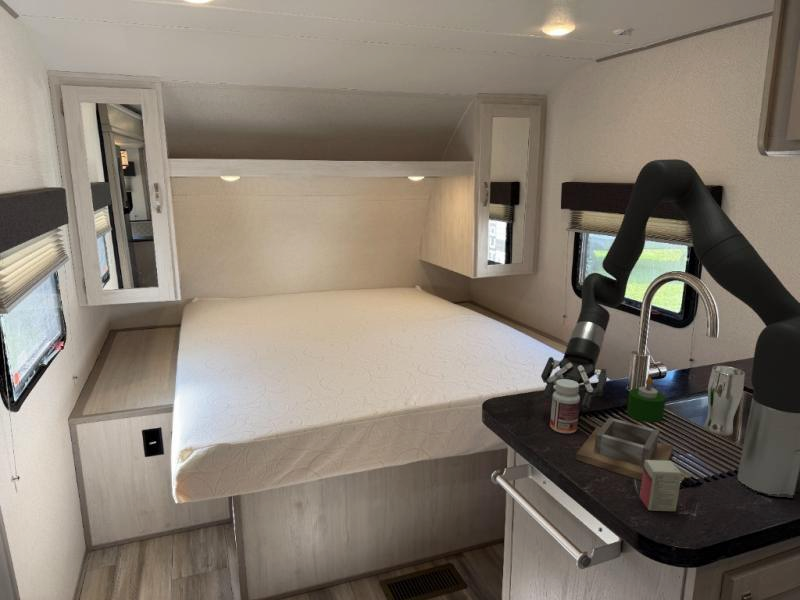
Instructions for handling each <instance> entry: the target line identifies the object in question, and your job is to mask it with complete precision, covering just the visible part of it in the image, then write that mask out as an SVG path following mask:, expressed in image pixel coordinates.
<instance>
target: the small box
mask: <svg viewBox="0 0 800 600" xmlns="http://www.w3.org/2000/svg"><path fill="white" fill-rule="evenodd" d="M682 475H683V473H682V471H681V470H680V469H679V468H678V466H677V465H676V464H675V463H674V462H673V461H672V460H669V461H665V460H645V462H644V469H643V477H642V480H641V484H640V485H641V486H640V490H639V491H640V493H639V499H640V501H642V504H643V505H644V506H645V508H646V509H647V510H648V511H655V512H656V511H658V512H676V510H677V505H678V500H679V499H678V498H679V493H680V487H681V486H680V485H681V481H682Z"/></svg>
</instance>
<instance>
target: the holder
mask: <svg viewBox="0 0 800 600" xmlns="http://www.w3.org/2000/svg"><path fill="white" fill-rule="evenodd" d="M659 435H660V430H659V429H654V428H651V427H647V426H643V425H641V424H640V425H639V424H636V423H633V422H632V423H631V422H628V421H624V420H620V419H617V418H614V417H613V418H612V417H608V418H607V419H606V421H605V422H604V424H603V425H602V426H600V425H599V426H597V427H596V428H595V429H594V430H593V432H592V433H591V434H590V436H589V437H588V438H587V439H586V441H585V442H584V443H583V444H582V445H581V447H580V448H579V450H577V452H576V454H575V455H576V456H575V461H577V460H578V461H577V462H581V461H582V462H581V463H585V464H587V465H590V464H591V466H593V465H594V467H597V468H600V469H604V470H607V471H610V472H613V473H616V474H619V475H622V476H623V475H624V476H626V477H630V478H632V479H636V480H640V481H642V477H643V469H644V462H645V460H665V461H670V459H671V457H672V454H673V451H674V446H672V445H669V444H666V443H661V442H659Z"/></svg>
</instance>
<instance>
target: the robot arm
mask: <svg viewBox="0 0 800 600" xmlns="http://www.w3.org/2000/svg"><path fill="white" fill-rule="evenodd" d="M661 203H663V204H664V203H671V204H673V206H675V208H677V209H678V211H679V212H680V213H681V215H682V216H683V217H684V218H685V220H686V221H687V223H688V225H689V228H690V233H691V241H692V246H693V252H694V254H695V257H696V258H697V259H698V261H699V263H701V265H702V266H703V268H704V270H706V272H707V273H708V274H709V276H710V277H711V278H712V279H713V280H714V282H716V284H717V285H719V286H720V287H722V288H723V289H724V290H725V291H726V292H728V293H730V294H731V295H732V296H733V297H735V298H737V299H738V300H740V301H741V302H742V303H743V304H745V305H747V306H748V307H749V308H750V309H752V311H753V312H754V313H755V314H756V315H757V316H758V317H759V319H760V320H761V321H762V323H763V324H764V325H765V327H764V328H763V329H762V330H761V332H760V333H759V334H758V337H757V340H756V344H755V349H754V353H753V354H754V355H753V360H752V369H751V376H750V378H751V385H752V389H753V390H752V391H753V392H752V399H751V404H750V409H749V415H748V419H747V425H746V429H745V434H744V436H745V437H744V440H743V445H742V452H741V456H740V462H739V465H738V472H737V481H738V482H739V481H740V482H741V483H742V484H745V485H746V486H748V487H750V488H752V489H754V490H757V491H761V492H764V493H768V494H777V495H779V494H789V495H794V496H795V492H796V487H797V482H798V478H799V473H800V302H799V301H798V299H796V297H794V296H793V295H792V294H791V292H790V291H789V290H788V289H787V288H786V286H785V285H784V284H783V283H782V282H781V280H780V279H779V278H778V277H777V275H776V274H775V273H774V271H773V270H772V269H771V267H769V265H768V264H767V262H765V260H764V259H763V258H762V257H761V255H760V254H759V252H757V250H756V249H755V248H754V246H753V245H752V244H751V242H750V241H749V240H748V239H747V238H746V236H745V235H744V234H743V233H742V232H741V231H740V230H739V228H738V227H737V226H736V225H735V224H734V222H733V221H732V219H730V217H729V216H728V215H727V213H726V212H725V211H724V210H723V209H722V208H721V206H720V205H719V204H718V203H717V201H716V200H715V198H714V197H713V196H712V194H711V192H710V190H709V189H708V188H707V186H706V184H705V183H704V181H703V180H702V178H701V176H700V175H699V173H698V172H697V171H696V169H695V167H693V166H692V164H691V163H689V162H688V161H686V160H683V159H679V158H677V159H675V158H674V159H672V158H671V159H654V160H652V161H649V162H647V163H646V164H645V165H644V166H643V167H642V168H641V169H640V171H639V172H638V176H636V180H635V182H634V185H633V188H632V192H631V195H630V198H629V200H628V204H627V206H626V209H625V211H624V215H623V218H622V222H621V224H620V227H619V229H618V232H617V234H616V236H615V237H614V240H613V241H612V243H611V246H610V247H609V249H608V250H607V253H606V254H605V257H604V258H603V260H602V265H601V266H602V268H603V270H604V271H605V273H607V274H608V275H609V276H611V277H609V276H606V275H604V274H602V273H598V272H591V273H589V274H587V275H586V277H585V278H584V280H583V283H582V286H581V306H580V312H579V316H578V318H577V321H576V324H575V326H574V328H573V330H572V332H571V335H570V336H569V337H570V338H569V340H568V344H567V346H566V349H565V350H564V351H565V352H564V354H563V358H562V359H561V360H556V359H554V357H553V356H551V357H548V359H547V361H546V364H545V365H544V369H543V370H542V373H541V375H540V377H541V380H542V382H543V383H545V384H546V385H545V388H544V389H543V390H544V391H543V396H544V399H545V401H548V402H549V401H550V400H551V398H552V396H553V393H554V392H553V391H554V390H555V386H556V381H557V380H560V379H569V380H573V381H576V382H577V383H578V384H579V385H581V384H583V385H584V387H585V389H586V392H585V393H584V396H583V399H582V403H581V409H582V411H587V409H590V408H591V404H592V401H593V398H594V397H595V396H598V397H603V396H604V393H605V388H606V384H607V379H608V372H607V369H605V368H601V369H596V366H597V362H598V361H599V360H598V359H599V356H600V354H601V350H602V348H603V344H604V339H605V335H606V331H607V328H608V325H609V322H610V318H611V315H610V313H609V311H608V310H607V309H606V308H605V307H607V308H610V309H613V308H617V307H619V306H620V305H621V304H622V303H623V302H624V299H625V296H626V291H627V287H628V281H629V278H630V276H631V274H632V271H633V270H634V268H635V266H636V265H637V262H638V261H639V259H640V257H641V255H642V253H643V251H644V249H645V244H646V231H647V230H646V229H647V226H648V225H647V224H648V221H649V219H650V217H651V215H652V214H653V212H654V211H655V210H656V208H657V207H658V206H659V205H660V204H661ZM602 305H603V306H602ZM604 306H605V307H604ZM557 367H559V370H557V371H555V372H554V374H553V375H552V373H553V371H554V370H556V368H557ZM551 375H552V376H551ZM594 376H596V379H597V385H596V387H594V388H593V386H592V384H591V382H590V379H591V378H593V377H594ZM740 482H739V483H740ZM741 483H740V484H741ZM742 484H741V485H742Z"/></svg>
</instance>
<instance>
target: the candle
mask: <svg viewBox="0 0 800 600" xmlns="http://www.w3.org/2000/svg"><path fill="white" fill-rule="evenodd" d="M645 384H646V385H645V386H639V387H637V388H632V389H630V390H629V393H628V399H627V400H628V401H627V407H626V414H627V415H628V416H629V417H630V418H632V419H634V420H637V421H640V422H643V423H659V422H662V421H663V420H664V419H663V417H664V412H665V405H666V398H667V397H666V396H665V395H664V394H663V393H661V392H659V391H658V390H657V389H656V388H655V387H654V388H653V387H652V385H653V379H652V377H647V379H646V381H645Z"/></svg>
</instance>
